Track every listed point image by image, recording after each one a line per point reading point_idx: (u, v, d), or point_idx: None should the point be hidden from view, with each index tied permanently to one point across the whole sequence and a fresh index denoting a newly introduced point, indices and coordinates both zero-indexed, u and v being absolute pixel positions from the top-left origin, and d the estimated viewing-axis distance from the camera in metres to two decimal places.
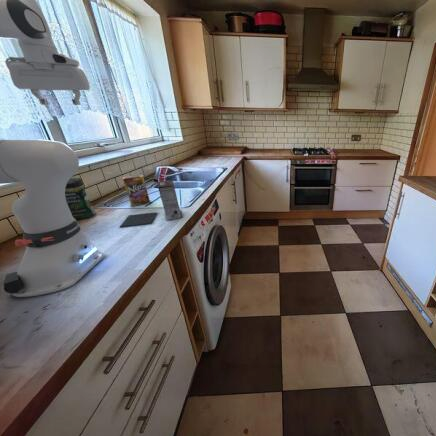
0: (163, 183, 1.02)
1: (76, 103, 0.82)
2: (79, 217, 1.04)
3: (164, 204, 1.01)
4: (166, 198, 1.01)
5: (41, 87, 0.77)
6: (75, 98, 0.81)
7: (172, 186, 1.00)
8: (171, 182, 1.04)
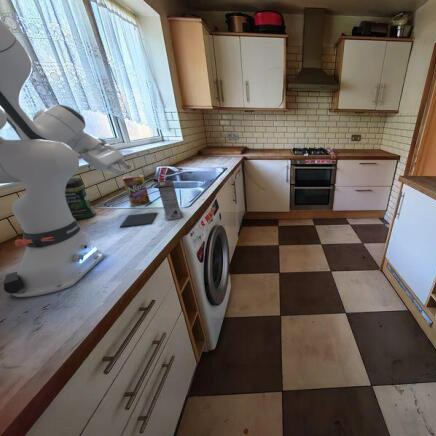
0: (163, 183, 1.02)
1: None
2: (79, 217, 1.04)
3: (164, 204, 1.01)
4: (166, 198, 1.01)
5: (113, 160, 0.91)
6: (126, 163, 0.99)
7: (172, 186, 1.00)
8: (171, 182, 1.04)
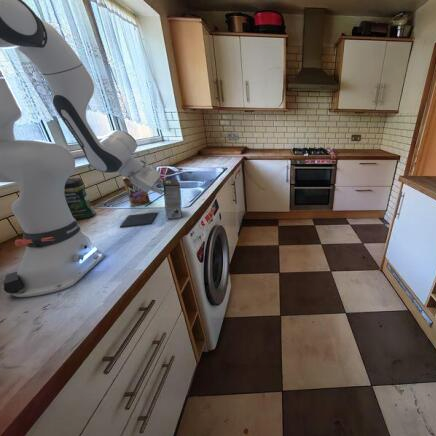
0: (169, 181, 1.03)
1: None
2: (79, 217, 1.04)
3: (167, 202, 1.02)
4: (170, 196, 1.01)
5: (154, 181, 0.98)
6: None
7: (178, 185, 1.01)
8: (177, 181, 1.05)
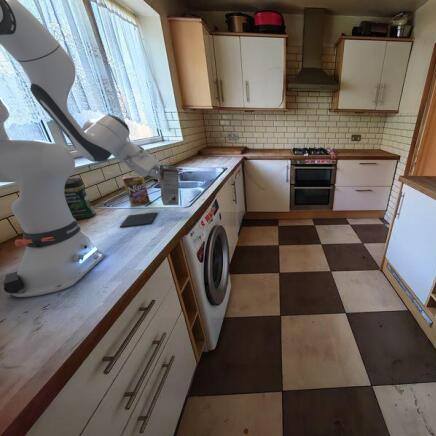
0: (167, 167, 0.99)
1: None
2: (79, 217, 1.04)
3: (164, 188, 0.97)
4: (168, 182, 0.97)
5: (151, 166, 0.95)
6: None
7: (176, 171, 0.98)
8: (175, 168, 1.01)
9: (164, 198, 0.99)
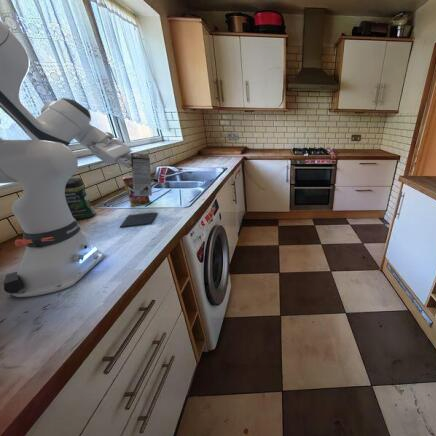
0: (137, 155, 0.93)
1: None
2: (79, 217, 1.04)
3: (135, 177, 0.92)
4: (138, 171, 0.92)
5: (120, 154, 0.90)
6: None
7: (147, 159, 0.92)
8: (147, 156, 0.95)
9: (135, 188, 0.93)
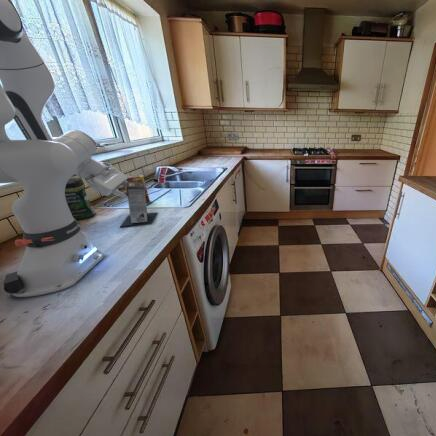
0: (133, 184, 0.97)
1: None
2: (79, 217, 1.04)
3: (130, 206, 0.96)
4: (134, 199, 0.96)
5: (117, 184, 0.94)
6: None
7: (142, 188, 0.96)
8: (142, 184, 0.99)
9: (131, 215, 0.97)
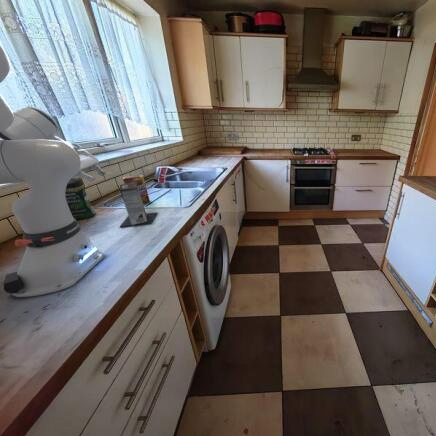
0: (126, 186, 0.96)
1: (104, 172, 0.97)
2: (79, 217, 1.04)
3: (127, 208, 0.96)
4: (129, 201, 0.95)
5: (84, 166, 0.88)
6: (101, 169, 0.97)
7: (135, 189, 0.95)
8: (135, 185, 0.98)
9: (130, 218, 0.98)
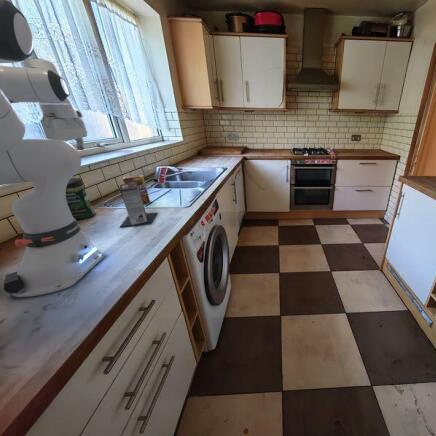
0: (126, 186, 0.96)
1: (83, 148, 0.93)
2: (79, 217, 1.04)
3: (127, 208, 0.96)
4: (129, 201, 0.95)
5: (71, 138, 0.85)
6: (82, 144, 0.93)
7: (136, 189, 0.95)
8: (135, 185, 0.98)
9: (130, 218, 0.98)
